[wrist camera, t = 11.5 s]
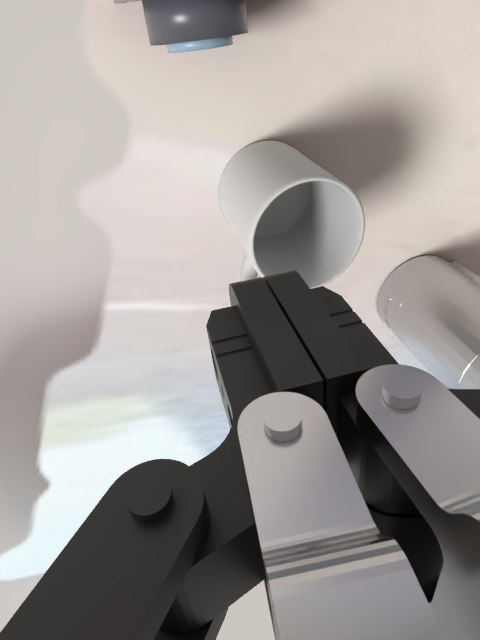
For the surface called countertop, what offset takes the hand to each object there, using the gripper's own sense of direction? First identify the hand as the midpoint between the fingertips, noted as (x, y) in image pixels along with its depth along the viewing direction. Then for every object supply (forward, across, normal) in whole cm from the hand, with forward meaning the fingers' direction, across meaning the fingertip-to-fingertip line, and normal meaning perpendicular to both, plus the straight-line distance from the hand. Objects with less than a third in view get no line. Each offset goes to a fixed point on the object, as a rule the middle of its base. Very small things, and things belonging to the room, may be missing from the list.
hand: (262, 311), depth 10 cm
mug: (+29, -7, +9) cm, 31 cm away
